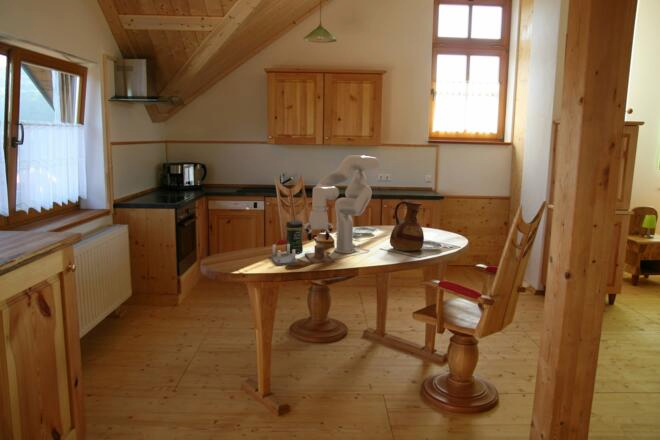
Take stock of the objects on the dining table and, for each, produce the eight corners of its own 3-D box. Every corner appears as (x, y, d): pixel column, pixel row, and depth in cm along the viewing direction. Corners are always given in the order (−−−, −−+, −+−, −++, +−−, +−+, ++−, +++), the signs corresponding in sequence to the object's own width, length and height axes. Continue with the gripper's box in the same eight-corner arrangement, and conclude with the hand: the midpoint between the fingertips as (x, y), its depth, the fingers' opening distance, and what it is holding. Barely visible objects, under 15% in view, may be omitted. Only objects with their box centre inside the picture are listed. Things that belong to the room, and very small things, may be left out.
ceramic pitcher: (423, 254, 301) (424, 202, 295) (388, 252, 305) (389, 201, 299) (423, 247, 320) (425, 198, 314) (390, 245, 323) (392, 197, 318)
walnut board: (325, 254, 301) (325, 241, 299) (334, 263, 282) (334, 249, 280) (304, 255, 298) (304, 243, 296) (312, 264, 279) (312, 250, 277)
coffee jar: (290, 254, 298) (289, 222, 295) (284, 251, 305) (283, 220, 301) (305, 252, 303) (305, 221, 300) (298, 250, 310) (298, 219, 306)
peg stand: (290, 255, 295) (290, 242, 294) (298, 264, 276) (298, 250, 275) (269, 257, 292) (269, 244, 290) (276, 266, 273) (276, 252, 271)
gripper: (332, 208, 291) (331, 238, 293) (302, 208, 286) (301, 239, 288) (336, 209, 284) (335, 240, 286) (305, 210, 279) (304, 241, 281)
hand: (318, 240), depth 287 cm, fingers open, 9 cm apart
